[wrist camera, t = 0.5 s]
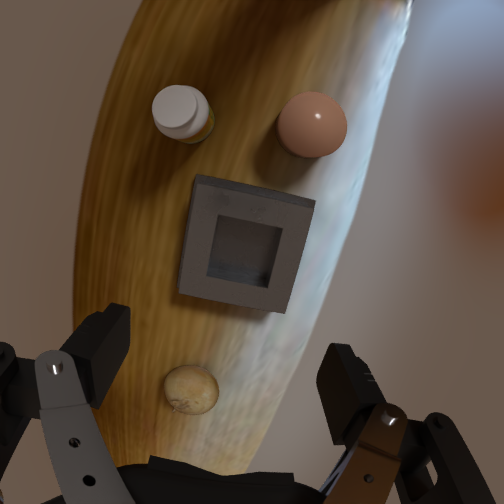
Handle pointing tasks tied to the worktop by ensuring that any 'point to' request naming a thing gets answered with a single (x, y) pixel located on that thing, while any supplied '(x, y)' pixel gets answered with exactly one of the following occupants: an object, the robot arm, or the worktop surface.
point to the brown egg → (311, 125)
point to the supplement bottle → (183, 114)
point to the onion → (191, 389)
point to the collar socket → (243, 244)
